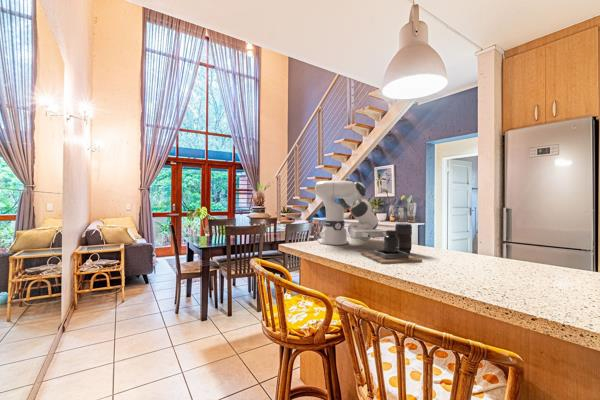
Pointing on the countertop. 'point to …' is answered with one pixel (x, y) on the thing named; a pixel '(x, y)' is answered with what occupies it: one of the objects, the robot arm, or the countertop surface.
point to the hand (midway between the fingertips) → (376, 235)
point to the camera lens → (404, 237)
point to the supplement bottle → (391, 242)
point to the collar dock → (390, 257)
